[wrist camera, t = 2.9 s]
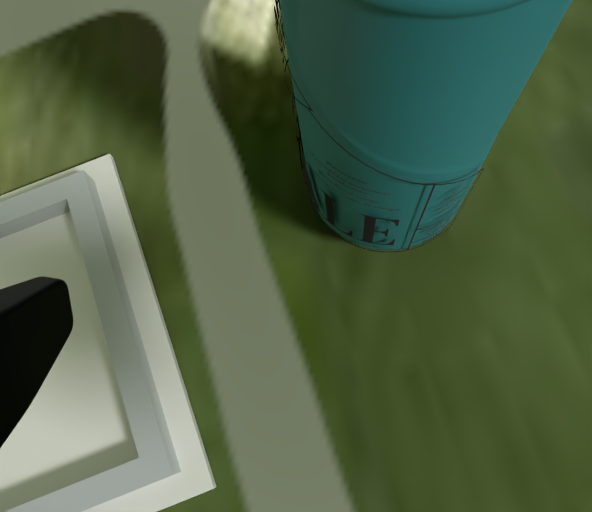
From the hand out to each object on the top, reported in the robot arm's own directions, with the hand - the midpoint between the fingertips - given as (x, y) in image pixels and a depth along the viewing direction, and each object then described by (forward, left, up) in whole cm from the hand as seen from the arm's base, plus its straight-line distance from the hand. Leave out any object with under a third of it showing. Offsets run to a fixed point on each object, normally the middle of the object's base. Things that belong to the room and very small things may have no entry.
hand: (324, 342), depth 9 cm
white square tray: (+6, +13, -13) cm, 20 cm away
